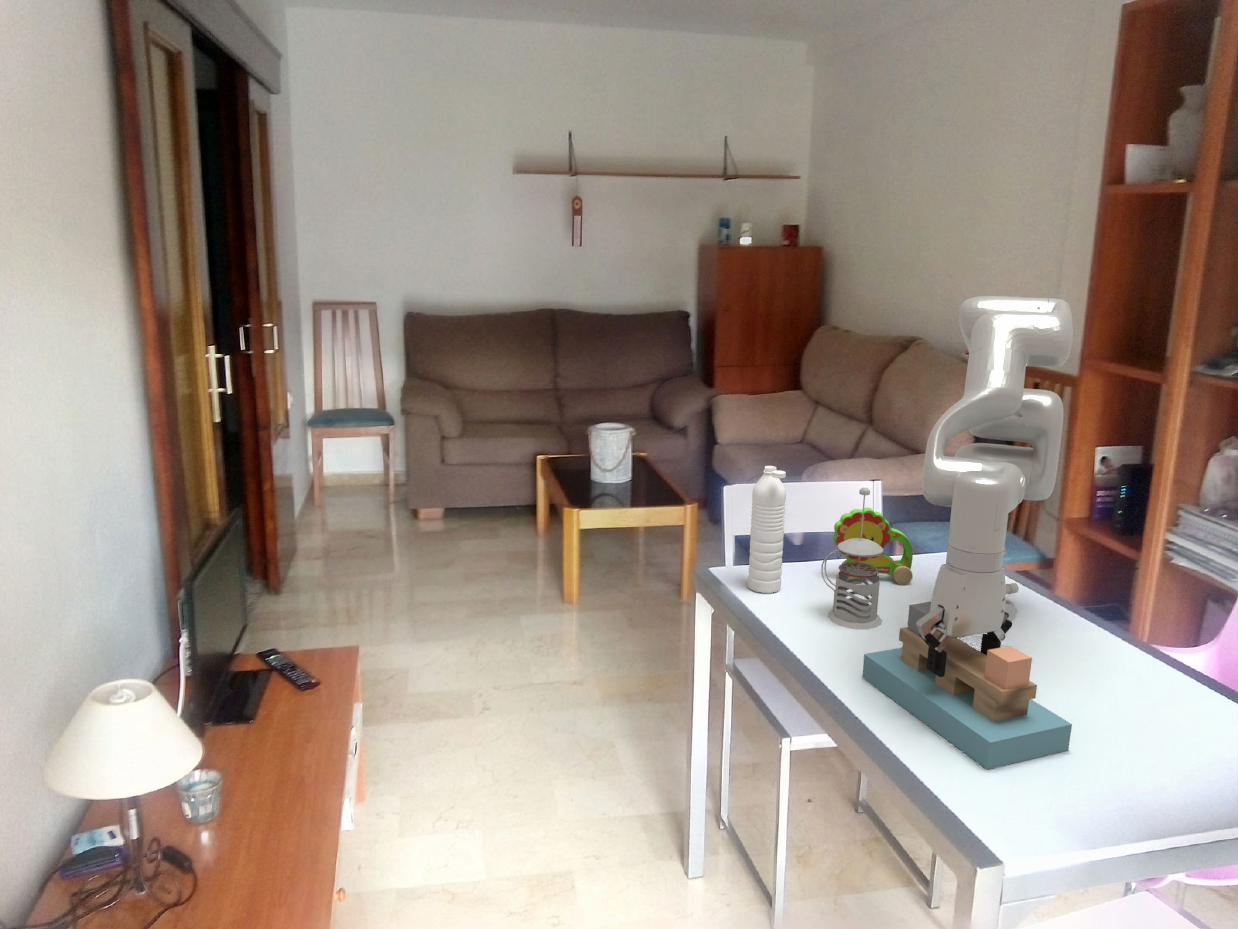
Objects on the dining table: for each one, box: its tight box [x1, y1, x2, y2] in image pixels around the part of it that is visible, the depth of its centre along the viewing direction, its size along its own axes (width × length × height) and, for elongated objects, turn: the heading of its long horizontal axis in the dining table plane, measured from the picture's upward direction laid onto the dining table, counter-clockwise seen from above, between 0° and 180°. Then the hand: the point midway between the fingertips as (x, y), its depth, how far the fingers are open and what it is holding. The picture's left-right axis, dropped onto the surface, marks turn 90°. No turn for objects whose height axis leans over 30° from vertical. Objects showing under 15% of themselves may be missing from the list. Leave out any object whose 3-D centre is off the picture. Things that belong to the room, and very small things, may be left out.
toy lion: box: [832, 507, 914, 586], centre depth 189 cm, size 16×5×15 cm, turn 86°
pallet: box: [898, 626, 1038, 722], centre depth 137 cm, size 6×22×5 cm, turn 21°
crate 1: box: [906, 601, 946, 636], centre depth 143 cm, size 4×4×4 cm
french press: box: [821, 487, 884, 630], centre depth 169 cm, size 10×12×25 cm
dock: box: [861, 647, 1073, 770], centre depth 138 cm, size 14×28×4 cm, turn 21°
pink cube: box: [985, 645, 1033, 689], centre depth 128 cm, size 4×4×4 cm
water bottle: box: [747, 465, 787, 594], centre depth 181 cm, size 9×6×25 cm
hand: (962, 667), depth 137 cm, fingers open, 9 cm apart
